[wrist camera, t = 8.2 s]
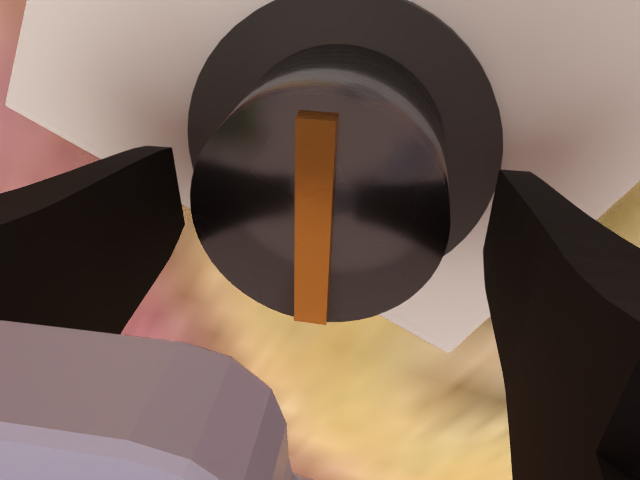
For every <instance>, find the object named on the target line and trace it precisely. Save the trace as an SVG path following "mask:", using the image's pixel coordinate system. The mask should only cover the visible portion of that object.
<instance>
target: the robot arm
mask: <svg viewBox="0 0 640 480" xmlns="http://www.w3.org/2000/svg"><path fill="white" fill-rule="evenodd" d="M184 225H185V222H184V216H183V210H182V204H181V198H180V192H179V186H178V180H177V174H176V168H175V162H174V156H173V150H172V147H160V146H142V147H137V148H133V149H130V150H127V151H124V152H120V153H118V154H115V155H112V156H109V157H106V158H104V159H101V160H98V161H96V162H93V163H90V164H88V165H85V166H82V167H80V168H77V169H74V170H72V171H69V172H66V173H63V174H60V175H57V176H54V177H51V178H48V179H45V180H43V181H40V182H37V183H34V184H31V185H28V186H25V187H22V188H18V189H15V190H11V191H8V192H4V193H1V194H0V480H312V479H310V478H307V477H304V476H301V475H299V474H296V473H293V472H292V469H291V465H290V461H289V457H288V440H287V423H286V421H285V419H284V417H283V414H282V412H281V410H280V407H279V405H278V403H277V401H276V398H275V396H274V394H273V392H272V389H271V388H270V387H269V386H268V385H267V384H265V383H264V382H263V381H262V380H260V379H259V378H258V377H257V376H255V375H254V374H253V373H251V372H250V371H249V370H248V369H246V368H245V367H244V366H243V365H241V364H240V363H239V362H237V361H236V360H235V359H234V358H232V357H231V356H228V355H225V354H221V353H218V352H215V351H212V350H209V349H205V348H202V347H199V346H196V345H193V344H189V343H186V342H178V341H170V340H162V339H153V338H145V337H136V336H128V335H120V334H121V332H122V330H123V329H124V327H125V326H126V324H127V323H128V321H129V320H130V318H131V317H132V315H133V313H134V312H135V310H136V309H137V307H138V306H139V304H140V303H141V301H142V300H143V298H144V297H145V295H146V294H147V292H148V291H149V289H150V288H151V286H152V285H153V283H154V282H155V280H156V279H157V277H158V276H159V274H160V273H161V271H162V270H163V268H164V267H165V265H166V263H167V262H168V260H169V259H170V257H171V255H172V253H173V250H174V248H175V246H176V244H177V242H178V239H179V237H180V235H181V232H182V230H183V227H184ZM483 265H484V282H485V291H486V296H487V301H488V306H489V311H490V315H491V320H492V325H493V329H494V334H495V339H496V343H497V348H498V353H499V357H500V362H501V367H502V372H503V378H504V384H505V391H506V401H507V412H508V424H509V435H510V449H511V463H512V476H513V480H640V248H639V247H637V246H635V245H633V244H632V243H630V242H628V241H627V240H625V239H623V238H622V237H620V236H619V235H617V234H616V233H614V232H612V231H611V230H609V229H608V228H606V227H605V226H603V225H602V224H600V223H599V222H597V221H596V220H595V219H593V218H592V217H590V216H589V215H588V214H586V213H585V212H583V211H582V210H581V209H579V208H578V207H577V206H575V205H574V204H573V203H571V202H570V201H569V200H568V199H566V198H565V197H564V196H562V195H561V194H560V193H559V192H557V191H556V190H555V189H554V188H552V187H551V186H550V185H548V184H547V183H546V182H545V181H543V180H542V179H541V178H539V177H538V176H536V175H535V174H533V173H532V172H530V171H515V170H500V169H499V173H498V178H497V183H496V188H495V193H494V198H493V203H492V208H491V212H490V217H489V222H488V227H487V232H486V237H485V242H484V247H483Z"/></svg>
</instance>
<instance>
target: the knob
mask: <svg viewBox="0 0 640 480" xmlns="http://www.w3.org/2000/svg"><path fill="white" fill-rule="evenodd" d="M190 207H191V213H192V219H193V223H194V226H195V229H196V232H197V235H198V238H199V240H200V242H201V244H202V246H203V248H204V250H205V252H206V253H207V255H208V256H209V258H210V259H211V261H212V262H213V264H214V265H215V266H216V267H217V269H218V270H219V271H220V272H221V273H222V274H223V275H224V276H225V277H226V278H227V279H228V280H229V281H230V282H231V283H232V284H233V285H234V286H235V287H237V288H238V289H239V290H240V291H242V292H243V293H244V294H246V295H247V296H249V297H251V298H252V299H254V300H255V301H257V302H259V303H261V304H263V305H265V306H267V307H268V308H271V309H273V310H276V311H278V312H281V313H283V314H287V315H290V316H293V317H294V321H301V322H309V323H316V324H323V325H326V323H327V322H345V321H353V320H360V319H364V318H368V317H372V316H375V315H378V314H381V313H384V312H386V311H389V310H391V309H393V308H395V307H397V306H399V305H400V304H402V303H403V302H405V301H406V300H408V299H410V298H411V297H412V296H413V295H414V294H416V293H417V292H418V291H419V290H420V289H421V288H422V287H423V286H424V285H425V284H426V283H427V282H428V281H429V279H430V278H431V277H432V275H433V274H434V272H435V271H436V269H437V268H438V266H439V264H440V262H441V260H442V258H443V256H444V253H445V250H446V247H447V243H448V240H449V233H450V225H451V218H450V200H449V186H448V171H447V157H446V143H445V133H444V128H443V122H442V119H441V116H440V113H439V110H438V108H437V106H436V104H435V102H434V100H433V98H432V96H431V95H430V93H429V92H428V90H427V89H426V88H425V86H424V85H423V84H422V82H421V81H420V80H419V79H418V78H417V77H416V76H415V75H414V74H413V73H412V72H411V71H409V70H408V69H407V68H406V67H404V66H403V65H402V64H400V63H399V62H397V61H396V60H394V59H392V58H391V57H389V56H387V55H384V54H382V53H380V52H378V51H375V50H372V49H368V48H365V47H361V46H355V45H348V44H327V45H320V46H314V47H311V48H307V49H303V50H301V51H298V52H296V53H294V54H291V55H289V56H288V57H286V58H284V59H283V60H281V61H279V62H278V63H276V64H275V65H274V66H273V67H272V68H271V69H269V70H268V71H267V72H266V73H265V74H264V75H263V77H262V78H261V79H260V80H259V81H258V82H257V83H256V85H255V86H254V87H253V88H252V89H251V90H250V92H249V93H248V94H247V95H246V96H245V97H244V99H243V100H242V101H241V102H240V103H239V104H238V106H237V107H236V108H235V109H234V110H233V111H232V113H231V114H230V115H229V116H228V117H227V118H226V120H225V121H224V122H223V123H222V124H221V125H220V127H219V128H218V129H217V130H216V131H215V133H214V134H213V135H212V136H211V137H210V138H209V140H208V141H207V143H206V145H205V146H204V148H203V149H202V151H201V153H200V155H199V157H198V160H197V162H196V164H195V167H194V171H193V175H192V179H191V188H190Z"/></svg>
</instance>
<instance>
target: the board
mask: <svg viewBox="0 0 640 480" xmlns="http://www.w3.org/2000/svg"><path fill="white" fill-rule="evenodd" d="M327 44H348V45H355V46H361V47H365V48H368V49H372V50H375V51H378V52H380V53H382V54H384V55H387V56H389V57H391V58H392V59H394V60H396V61H397V62H399V63H400V64H402V65H403V66H404V67H406V68H407V69H408V70H409V71H411V72H412V73H413V74H414V75H415V76H416V77H417V78H418V79H419V80H420V81H421V82H422V84H423V85H424V86H425V88H426V89H427V90H428V92H429V93H430V95H431V96H432V98H433V100H434V102H435V104H436V106H437V108H438V110H439V113H440V116H441V119H442V122H443V128H444V133H445V143H446V157H447V171H448V186H449V200H450V218H451V225H450V233H449V240H448V243H447V247H446V250H445V253H444V256H443V258H442V260H441V262H440V264H439V266H438V268H437V269H436V271H435V272H434V274H433V275H432V277H431V278H430V279H429V281H428V282H427V283H426V284H425V285H424V286H423V287H422V288H421V289H420V290H419V291H418V292H417V293H416V294H414V295H413V296H412V297H411V298H410V299H408V300H406V301H405V302H403V303H402V304H400V305H399V306H397V307H395V308H393V309H391V310H389V311H386V312H384V313H381V314H378V315H380V316H382V317H384V318H386V319H387V320H389V321H391V322H393V323H395V324H396V325H398V326H400V327H402V328H403V329H405V330H407V331H409V332H411V333H412V334H414V335H416V336H418V337H420V338H421V339H423V340H425V341H427V342H428V343H430V344H432V345H434V346H436V347H437V348H439V349H441V350H443V351H445V352H446V353H448V354H449V353H450V352H451V351H452V350H453V349H454V348H456V347H457V346H458V345H459V344H460V343H461V342H462V341H463V340H464V339H466V338H467V337H468V336H469V335H470V334H471V333H472V332H473V331H474V330H475V329H477V328H478V327H479V326H480V325H481V324H482V323H483V322H484V321H485V320H487V319H488V318H489V317H490V316H491V315H490V311H489V306H488V301H487V296H486V291H485V282H484V265H483V247H484V242H485V237H486V232H487V227H488V222H489V217H490V212H491V208H492V203H493V198H494V193H495V188H496V183H497V178H498V173H499V169H500V170H515V171H530V172H532V173H533V174H535V175H536V176H538V177H539V178H541V179H542V180H543V181H545V182H546V183H547V184H548V185H550V186H551V187H552V188H554V189H555V190H556V191H557V192H559V193H560V194H561V195H562V196H564V197H565V198H566V199H568V200H569V201H570V202H571V203H573V204H574V205H575V206H577V207H578V208H579V209H581V210H582V211H583V212H585V213H586V214H588V215H589V216H590V217H592V218H593V219H595V220H597V219H598V218H599V217H600V216H602V215H603V214H604V213H605V212H606V211H607V210H608V209H609V208H610V207H611V206H613V205H614V204H615V203H616V202H617V201H618V200H619V199H620V198H621V197H623V196H624V195H625V194H626V193H627V192H628V191H629V190H630V189H631V188H632V187H634V186H635V185H636V184H637V183H638V182H639V181H640V0H27V3H26V8H25V12H24V17H23V22H22V27H21V31H20V36H19V41H18V46H17V50H16V55H15V60H14V65H13V70H12V74H11V79H10V84H9V89H8V93H7V98H6V103H5V106H7V107H9V108H11V109H12V110H14V111H16V112H18V113H19V114H21V115H23V116H25V117H27V118H28V119H30V120H32V121H34V122H36V123H37V124H39V125H41V126H43V127H44V128H46V129H48V130H50V131H52V132H53V133H55V134H57V135H59V136H61V137H62V138H64V139H66V140H68V141H69V142H71V143H73V144H75V145H77V146H78V147H80V148H82V149H84V150H86V151H87V152H89V153H91V154H93V155H94V156H96V157H98V158H100V159H104V158H106V157H109V156H112V155H115V154H118V153H120V152H124V151H127V150H130V149H133V148H137V147H142V146H160V147H172V150H173V156H174V162H175V168H176V174H177V180H178V186H179V192H180V198H181V204H182V205H184V206H186V207H187V208H189V209H191V207H190V188H191V179H192V175H193V171H194V167H195V164H196V162H197V160H198V157H199V155H200V153H201V151H202V149H203V148H204V146H205V145H206V143H207V141H208V140H209V138H210V137H211V136H212V135H213V134H214V133H215V131H216V130H217V129H218V128H219V127H220V125H221V124H222V123H223V122H224V121H225V120H226V118H227V117H228V116H229V115H230V114H231V113H232V111H233V110H234V109H235V108H236V107H237V106H238V104H239V103H240V102H241V101H242V100H243V99H244V97H245V96H246V95H247V94H248V93H249V92H250V90H251V89H252V88H253V87H254V86H255V85H256V83H257V82H258V81H259V80H260V79H261V78H262V77H263V75H264V74H265V73H266V72H267V71H268V70H269V69H271V68H272V67H273V66H274V65H275V64H276V63H278V62H279V61H281V60H283V59H284V58H286V57H288V56H289V55H291V54H294V53H296V52H298V51H301V50H303V49H307V48H311V47H314V46H320V45H327Z"/></svg>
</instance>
